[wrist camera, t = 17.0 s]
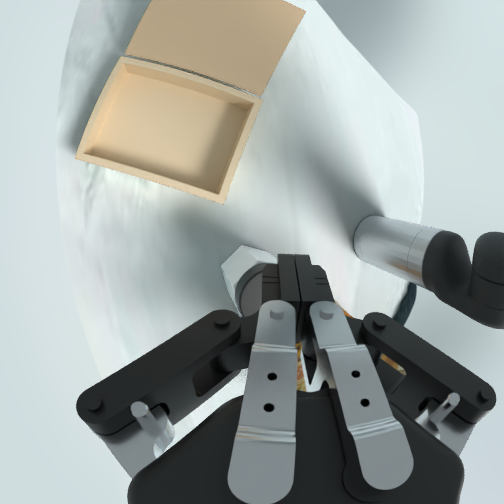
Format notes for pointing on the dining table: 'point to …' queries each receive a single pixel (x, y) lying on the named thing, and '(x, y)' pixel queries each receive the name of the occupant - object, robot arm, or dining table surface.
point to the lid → (218, 37)
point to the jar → (246, 277)
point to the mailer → (169, 128)
